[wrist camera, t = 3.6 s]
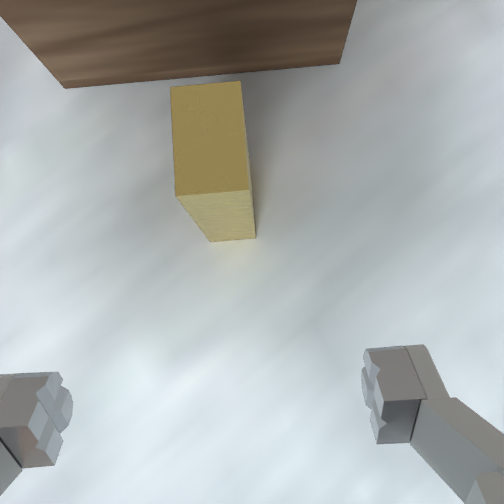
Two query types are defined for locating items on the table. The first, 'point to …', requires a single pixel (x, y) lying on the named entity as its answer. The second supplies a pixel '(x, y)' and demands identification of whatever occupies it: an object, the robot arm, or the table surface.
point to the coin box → (177, 36)
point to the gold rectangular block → (213, 159)
